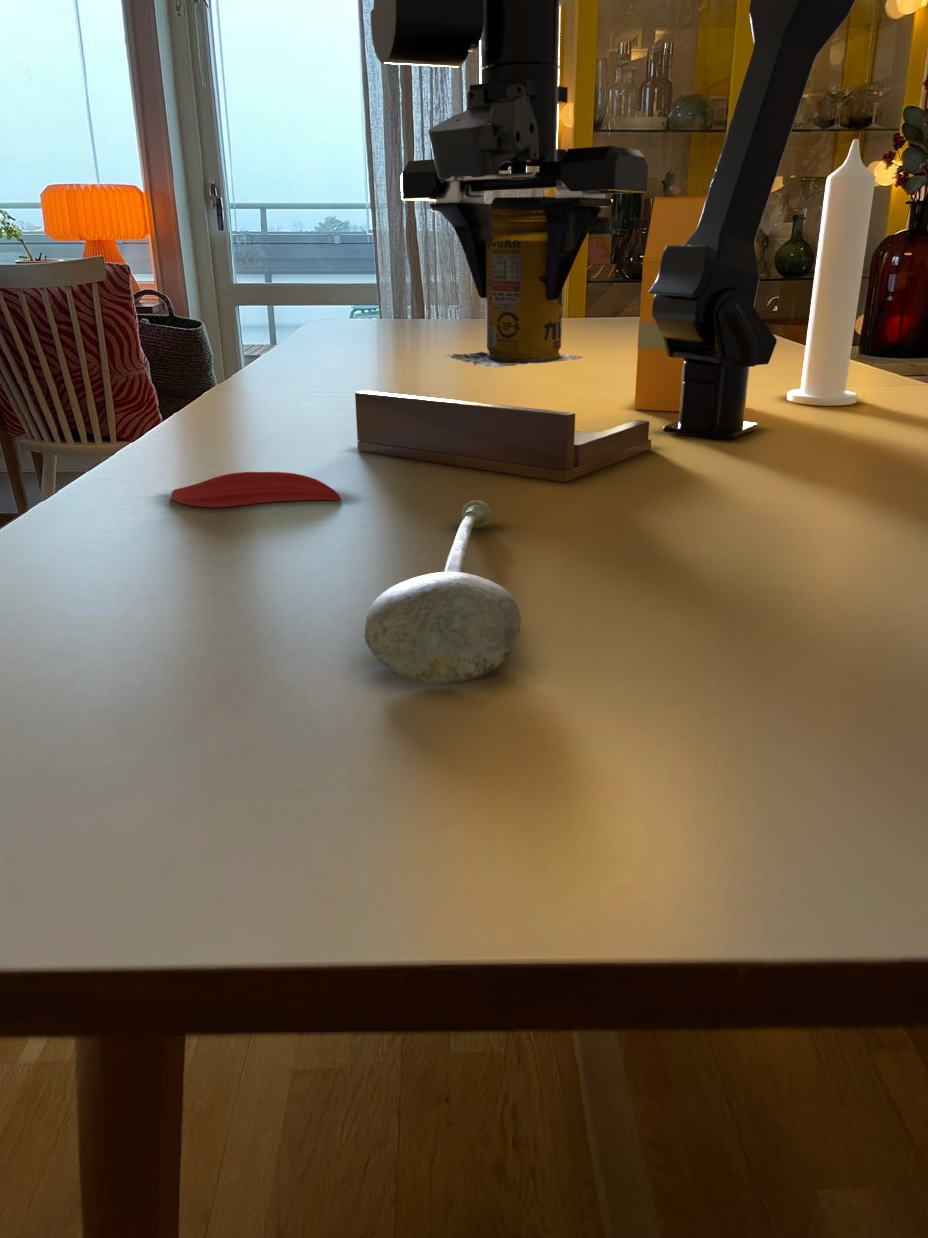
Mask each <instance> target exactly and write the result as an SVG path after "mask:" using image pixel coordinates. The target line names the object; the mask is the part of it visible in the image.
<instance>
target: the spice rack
mask: <svg viewBox="0 0 928 1238" xmlns="http://www.w3.org/2000/svg"><path fill="white" fill-rule="evenodd" d="M354 399H355V400H354V401H355V418H356V437H357V451H358V452H363V453H364V452H365V453H371V454H376V455H383V456H390V457H396V458H403V459H410V460H417V461H424V462H429V463H436V464H442V465H449V466H455V467H461V468H462V467H463V468H468V469H475V470H482V471H488V472H495V473H501V474H507V475H515V476H521V477H527V478H535V479H540V480H541V479H542V480H546V481H553V482H558V483H559V482H560V483H567V482H569V481H572V480H574V479H577V478H580V477H582V476H585V475H588V474H591V473H593V472H595V471H598V470H601V469H603V468H607V467H608V466H611V465H614V464H617V463H618V462H621V461H625V460H627V459H629V458H632V457H635V456H638V455H639V454H641V453H644V452H647V451H649V450H651V449H652V439H650V438H649V434H650V421H649V420H642V419H641V420H640V419H635V420H633V421H630V422H627V423H623V424H620V425H617V426H613V427H610V428H607V429H604V430H601V431H599V432H589V431H580V430H576V413H575V412H571V411H561V410H552V409H544V408H543V409H541V408H534V407H524V406H515V405H514V406H513V405H504V404H503V405H502V404H494V403H485V402H475V401H465V400H458V399H448V398H439V397H438V398H437V397H429V396H428V397H427V396H419V395H409V394H399V393H389V392H380V391H373V390H372V391H371V390H361V391H360V390H359V391H356V392H354Z"/></svg>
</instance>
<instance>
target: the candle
mask: <svg viewBox="0 0 928 1238" xmlns="http://www.w3.org/2000/svg"><path fill="white" fill-rule="evenodd" d="M875 184H876V175H875V174H874V173H873V172H872V171H871V170H869V168H868V167H867V166H866V165H865V164H864V163H863V160H862V157H861V151H860V140H859V139H858V138H854V139H853V140H852V142H851V145H850V148H849V152H848V154H847V157H846V159H845V160H844V162H843V163H842V165H840V166H839V167H838V168H837V169H836V170H835V171H833V172H831V173H830V174H829V175H828V176H827V177H826V181H825V188H824V196H823V203H822V204H823V205H822V213H821V220H820V230H819V238H818V244H817V253H816V263H815V268H814V277H813V285H812V291H811V292H812V294H811V300H810V309H809V319H808V324H807V325H808V326H807V334H806V341H805V342H806V343H805V350H804V357H803V358H804V359H803V367H802V373H801V382H800V388H796V389H791V390H789V391H787V393H786V399H787V400H788V401H789V402H792V403H796V404H800V405H809V406H824V407H826V406H827V407H828V406H830V407H831V406H834V407H835V406H836V407H837V406H838V407H839V406H848V405H854V404H856V403H857V402H858V399H859V396H858V394H857V393H855V392H854V391H853V392H852V391H849V390H847V382H848V375H849V370H850V369H849V368H850V362H851V361H850V360H851V355H852V347H853V340H854V333H855V327H856V319H857V313H858V307H859V306H858V305H859V299H860V291H861V284H862V277H863V271H864V263H865V255H866V249H867V242H868V234H869V227H870V221H871V213H872V207H873V199H874V192H875Z"/></svg>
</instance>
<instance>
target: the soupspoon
mask: <svg viewBox="0 0 928 1238" xmlns="http://www.w3.org/2000/svg"><path fill="white" fill-rule="evenodd" d="M461 517H462V521H461V522H460V524H459V527H458V529H457V532H456V535H455V537H454V540H453V543H452V546H451V548H450V551H449V553H448V556H447V559H446V562H445V565H444V570H443V571H439V572H438V571H437V572H432V573H428V574H423V575H419V576H416V577H411V578H410V579H407V580H404V581H402V582H399V583H398V584H397V583H396V584H395V585H393V586H391V587H389V588H388V589H386V590H384V591H383V592H382V593H380V595H379V596H377V597H376V599H375V600H374V601H373V602H372V603H371V605H370V607H369V608H368V612H367V615H366V619H365V626H364V640H365V643H366V645H367V647H368V648H369V650H370V651H371V652H372V653H373V654H372V655H373V656H375V657H376V659H377V660H378V661H379V662H380V663H381V664H383V665H384V666H385V668H387V669H389V670H392V672H396V673H397V674H399V675H402V676H404V677H407V678H410V679H412V680H416V681H420V682H424V683H426V684H435V683H437V684H451V683H454V682H456V681H460V682H465V681H466V680H467V681H468V680H472V679H474V678H479V677H480V676H484V675H487V674H489V673H491V672H492V671H494V670H495V669H497V668H499V666H500V665H502V664H503V663H505V662H506V660H507V659H508V658H509V657H510V655H511V653H512V652H513V651H514V649H515V646H516V644H517V642H518V639H519V637H520V633H521V632H520V631H521V622H522V615H521V610H520V607H519V604H518V602H517V601H516V598H514V596H513V595H512V594H511V593H510V591H508V589H506V588H505V587H504V586H502V585H500V584H498V583H496V582H495V581H492V580H490V579H488V578H484V577H482V576H478V575H475V574H471V573H467V572H464V571H465V566H466V565H465V564H466V556H467V553H468V548H469V544H470V538H471V534H472V530H473V529H481V528H483V527H486V525H488V523H489V521H490V520H491V518H492V512H491V507H490V506H489V505H488V504H487V503H486V502H485V501H482V500H479V499H478V500H470V501H467V502H466V503H465V504H464V505H463V507H462V509H461Z"/></svg>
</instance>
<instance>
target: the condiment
mask: <svg viewBox="0 0 928 1238" xmlns="http://www.w3.org/2000/svg"><path fill="white" fill-rule="evenodd" d="M551 198H556V196H545V195H544V196H509V197H503V196H502V197H499V196H497V197H494V198H493V199H492V201H491V203H490V204H491V210H492V215H491V222H490V224H491V226H492V230H491V233H490V235H489V237H488V238H487V240H486V298H485V300H486V301H485V305H486V306H485V310H486V311H485V315H486V317H485V318H486V330H485V331H486V349H487V351H477V352H470V353H453V354H445V356H447V357H450V358H451V359H454V360H457V361H461V362H464V363H470V364H473V365H474V366H476V365H481V366H482V365H483V366H485V367H493V368H505V367H515V366H517V365H528V364H546V363H555V362H566V361H569V360H572V361H574V360H578V359H579V360H580V359H582V358H583V356H579V355H572V354H562V353H560V350H561V348H562V335H563V334H562V332H563V331H562V329H563V327H562V325H563V324H562V323H563V319H562V315H563V290H562V291H561V293H560V296H559V298H558V299H556V300H548V298H547V289H546V261H547V234H548V224H547V220H546V217H545V214H544V211H543V208H542V205H541V203H540V199H551Z"/></svg>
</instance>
